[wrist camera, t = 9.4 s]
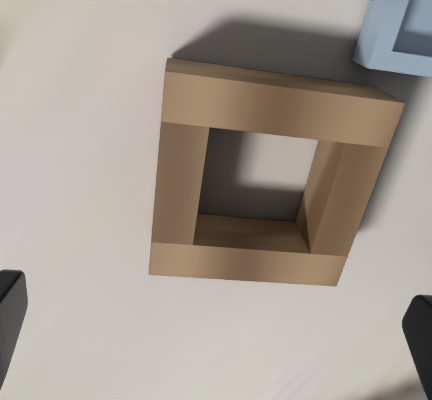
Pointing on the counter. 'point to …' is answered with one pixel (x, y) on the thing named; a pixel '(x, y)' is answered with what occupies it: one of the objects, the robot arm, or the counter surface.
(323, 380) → the counter surface
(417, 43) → the tray
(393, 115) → the brown square frame
